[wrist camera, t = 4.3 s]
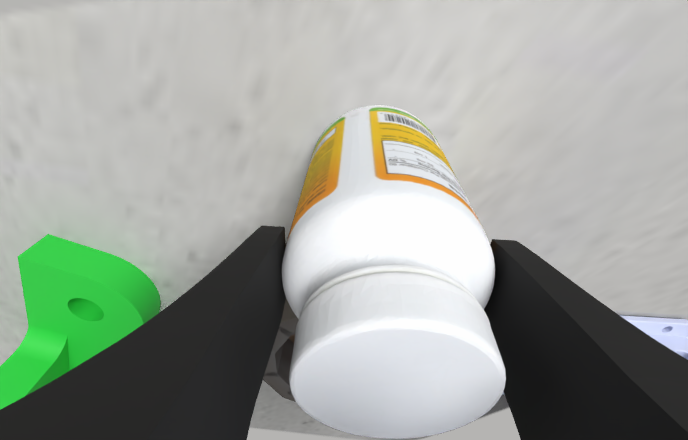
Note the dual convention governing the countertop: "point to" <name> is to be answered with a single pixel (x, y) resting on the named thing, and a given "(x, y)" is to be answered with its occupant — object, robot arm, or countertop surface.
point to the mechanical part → (72, 311)
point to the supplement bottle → (389, 284)
